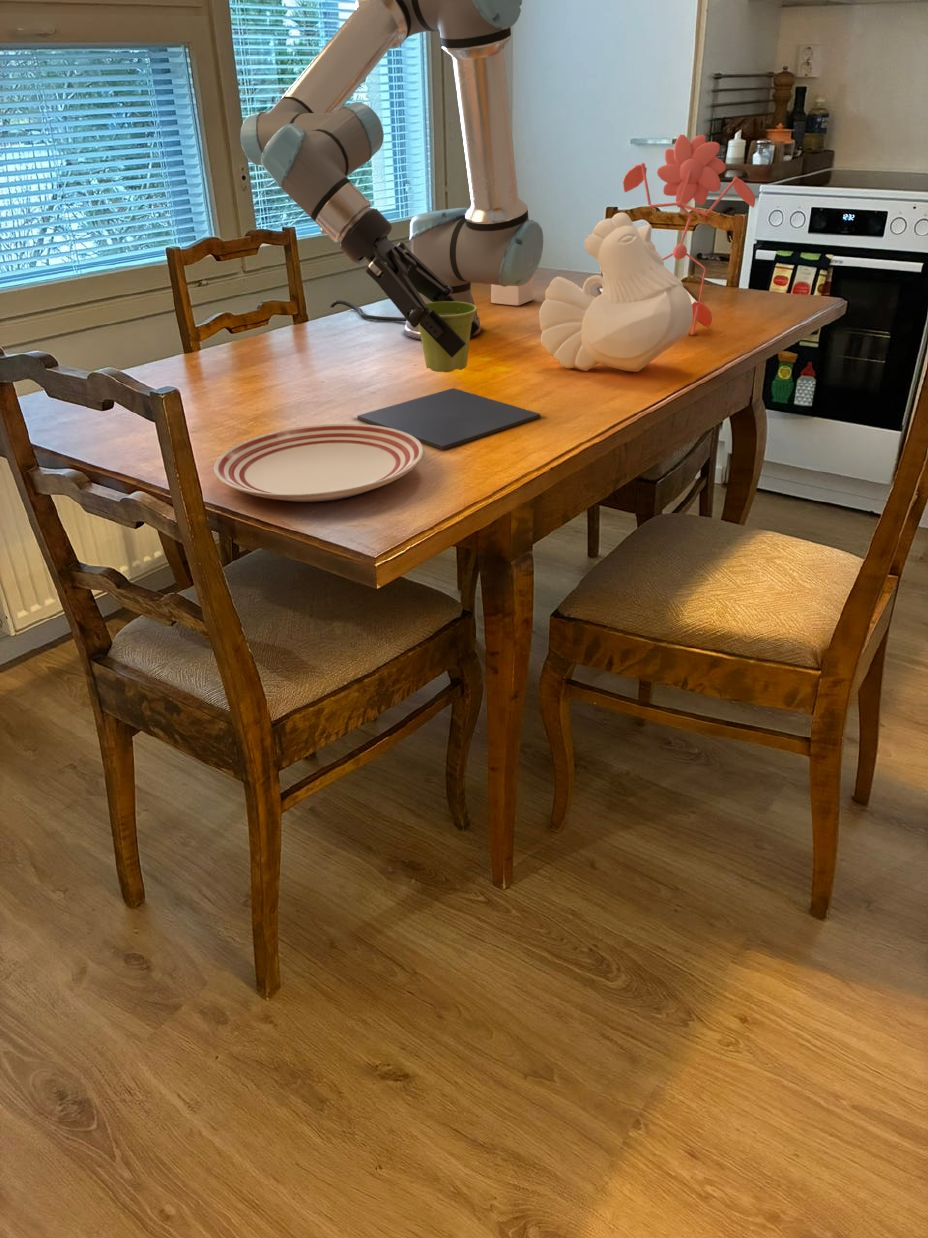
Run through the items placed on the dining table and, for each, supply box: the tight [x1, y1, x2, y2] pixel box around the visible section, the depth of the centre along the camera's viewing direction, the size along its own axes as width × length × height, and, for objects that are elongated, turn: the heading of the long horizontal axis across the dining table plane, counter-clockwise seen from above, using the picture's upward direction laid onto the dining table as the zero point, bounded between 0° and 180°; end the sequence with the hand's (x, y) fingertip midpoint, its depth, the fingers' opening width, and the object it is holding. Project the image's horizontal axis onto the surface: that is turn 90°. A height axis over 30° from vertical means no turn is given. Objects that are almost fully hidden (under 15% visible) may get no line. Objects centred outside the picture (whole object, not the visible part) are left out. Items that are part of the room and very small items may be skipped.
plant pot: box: [418, 301, 478, 373], centre depth 142 cm, size 9×9×9 cm
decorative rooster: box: [538, 211, 694, 373], centre depth 166 cm, size 25×16×25 cm
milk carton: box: [490, 274, 535, 307], centre depth 215 cm, size 7×7×19 cm
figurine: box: [622, 134, 756, 338], centre depth 187 cm, size 15×26×35 cm, turn 64°
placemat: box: [356, 387, 542, 451], centre depth 148 cm, size 20×20×1 cm
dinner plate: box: [213, 423, 425, 503], centre depth 127 cm, size 27×27×3 cm
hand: (466, 341), depth 141 cm, fingers closed on plant pot, 9 cm apart
